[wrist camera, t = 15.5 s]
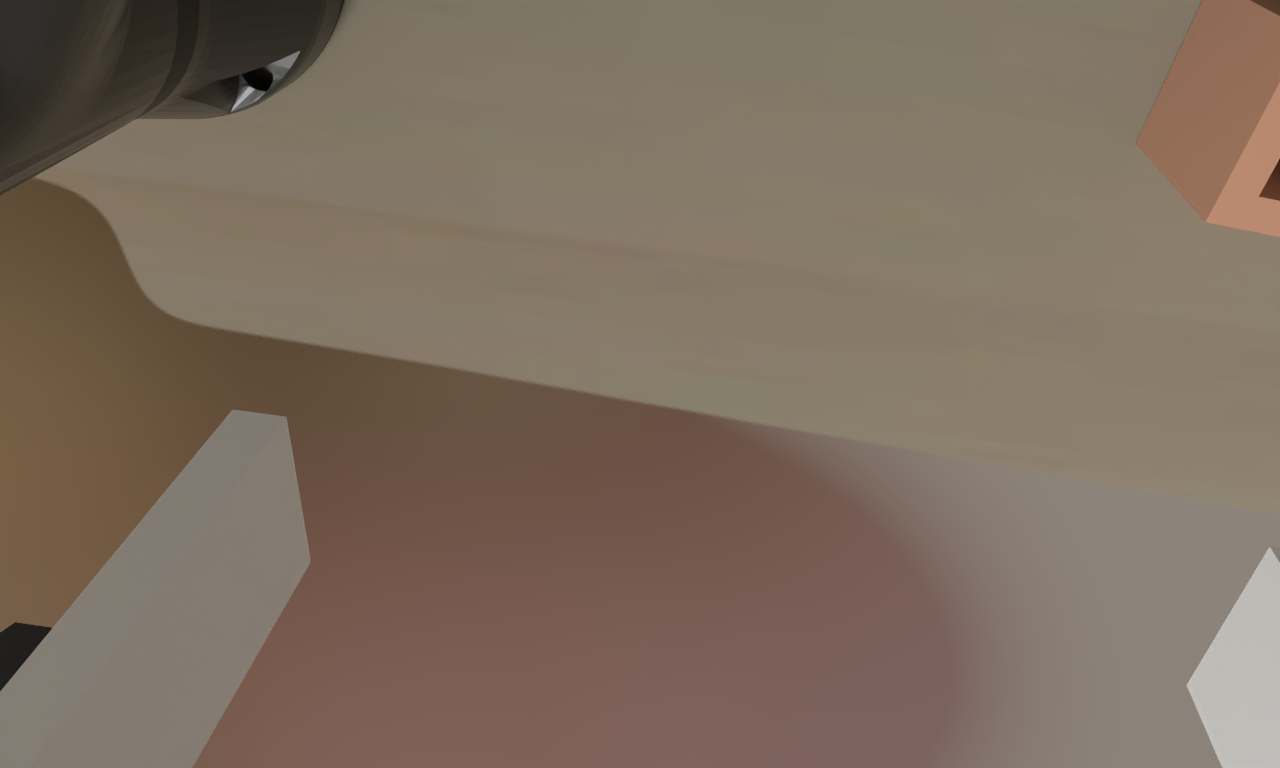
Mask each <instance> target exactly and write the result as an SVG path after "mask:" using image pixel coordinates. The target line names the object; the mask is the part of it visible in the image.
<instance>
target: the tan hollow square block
mask: <svg viewBox="0 0 1280 768" xmlns="http://www.w3.org/2000/svg"><path fill="white" fill-rule="evenodd" d="M1136 145H1137V146H1138V147H1139V148H1140V149H1141V150H1142V151H1143V153H1144V154H1145V155H1146V156H1147V157H1148V158H1149V159H1150V160H1151V162H1152V163H1153V164H1154V165H1155V166H1156V167H1157V168H1158V169H1159V171H1160V172H1161V173H1162V174H1163V175H1164V176H1165V177H1166V178H1167V180H1168V181H1169V182H1170V183H1171V184H1172V185H1173V186H1174V187H1175V189H1176V190H1177V191H1178V192H1179V193H1180V194H1181V195H1182V196H1183V197H1184V199H1185V200H1186V201H1187V202H1188V203H1189V204H1190V205H1191V206H1192V208H1193V209H1194V210H1195V211H1196V212H1197V213H1198V214H1199V215H1200V217H1201V218H1202V219H1203V220H1204V221H1205V222H1207V223H1212V224H1217V225H1222V226H1227V227H1232V228H1237V229H1242V230H1247V231H1252V232H1257V233H1262V234H1267V235H1272V236H1277V237H1280V0H1203V1H1202V3H1201V5H1200V7H1199V9H1198V11H1197V14H1196V16H1195V18H1194V20H1193V22H1192V24H1191V26H1190V29H1189V31H1188V33H1187V35H1186V37H1185V39H1184V42H1183V44H1182V46H1181V48H1180V50H1179V52H1178V54H1177V57H1176V59H1175V61H1174V63H1173V65H1172V67H1171V70H1170V72H1169V74H1168V76H1167V78H1166V80H1165V82H1164V85H1163V87H1162V89H1161V91H1160V93H1159V95H1158V98H1157V100H1156V102H1155V104H1154V106H1153V108H1152V110H1151V113H1150V115H1149V117H1148V119H1147V121H1146V123H1145V126H1144V128H1143V130H1142V132H1141V134H1140V136H1139V138H1138V141H1137V143H1136Z"/></svg>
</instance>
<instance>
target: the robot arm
mask: <svg viewBox="0 0 1280 768" xmlns="http://www.w3.org/2000/svg"><path fill="white" fill-rule="evenodd" d="M341 5H342V0H0V195H2V194H4V193H6V192H7V191H9V190H11V189H13V188H15V187H16V186H18V185H20V184H22V183H23V182H25V181H27V180H29V179H31V178H32V177H34V176H36V175H38V174H39V173H41V172H43V171H45V170H47V169H48V168H50V167H52V166H54V165H55V164H57V163H59V162H61V161H62V160H64V159H66V158H68V157H69V156H71V155H73V154H75V153H77V152H78V151H80V150H82V149H84V148H85V147H87V146H89V145H91V144H92V143H94V142H96V141H98V140H100V139H101V138H103V137H105V136H107V135H108V134H110V133H112V132H114V131H115V130H117V129H119V128H121V127H123V126H125V125H126V124H128V123H130V122H131V121H133V120H135V119H203V118H213V117H220V116H224V115H229V114H232V113H236V112H239V111H242V110H245V109H248V108H250V107H252V106H255V105H257V104H259V103H261V102H262V101H264V100H266V99H268V98H269V97H271V96H272V95H274V94H276V93H277V92H279V91H280V90H282V89H283V88H285V87H287V86H288V85H289V84H291V83H292V82H294V81H295V80H296V79H297V78H299V77H300V76H301V75H302V74H303V73H304V72H305V71H306V70H307V69H308V68H309V67H310V66H311V65H312V64H313V62H314V61H315V60H316V59H317V57H318V56H319V55H320V53H321V52H322V50H323V49H324V47H325V45H326V44H327V42H328V40H329V38H330V36H331V34H332V31H333V29H334V27H335V24H336V22H337V19H338V16H339V13H340V9H341ZM310 562H311V561H310V554H309V548H308V542H307V536H306V530H305V525H304V519H303V513H302V507H301V501H300V495H299V489H298V483H297V477H296V471H295V465H294V459H293V453H292V447H291V442H290V436H289V430H288V424H287V418H286V417H284V416H276V415H269V414H260V413H253V412H245V411H238V410H232V411H231V412H230V414H229V415H228V416H227V417H226V419H225V420H224V421H223V422H222V423H221V424H220V426H219V427H218V428H217V429H216V431H215V432H214V433H213V434H212V435H211V437H210V438H209V439H208V440H207V441H206V443H205V444H204V445H203V446H202V447H201V449H200V450H199V451H198V452H197V454H196V455H195V456H194V457H193V458H192V460H191V461H190V462H189V463H188V465H187V466H186V467H185V468H184V470H183V471H182V472H181V473H180V474H179V475H178V477H177V478H176V479H175V480H174V482H173V483H172V484H171V485H170V486H169V488H168V489H167V490H166V491H165V492H164V494H163V495H162V496H161V497H160V498H159V500H158V501H157V502H156V503H155V504H154V506H153V507H152V508H151V509H150V511H149V512H148V513H147V514H146V515H145V517H144V518H143V519H142V520H141V521H140V523H139V524H138V525H137V526H136V528H135V529H134V530H133V531H132V532H131V534H130V535H129V536H128V537H127V539H126V540H125V541H124V542H123V543H122V545H121V546H120V547H119V548H118V549H117V551H116V552H115V553H114V554H113V556H112V557H111V558H110V559H109V560H108V562H107V563H106V564H105V565H104V566H103V568H102V569H101V570H100V571H99V572H98V574H97V575H96V576H95V577H94V579H93V580H92V581H91V582H90V583H89V585H88V586H87V587H86V588H85V589H84V591H83V592H82V593H81V594H80V595H79V597H78V598H77V599H76V600H75V602H74V603H73V604H72V605H71V606H70V608H69V609H68V610H67V611H66V612H65V614H64V615H63V616H62V617H61V619H60V620H59V621H58V622H57V624H56V625H55V626H54V627H53V628H50V627H43V626H35V625H29V624H22V623H14V624H12V625H11V626H9V627H8V628H7V629H5V630H4V631H2V632H0V768H192V767H193V765H194V764H195V762H196V760H197V758H198V757H199V755H200V753H201V751H202V750H203V748H204V746H205V745H206V743H207V741H208V739H209V738H210V736H211V734H212V732H213V731H214V729H215V727H216V725H217V724H218V722H219V720H220V718H221V717H222V715H223V713H224V711H225V710H226V708H227V706H228V705H229V703H230V701H231V699H232V698H233V696H234V694H235V692H236V691H237V689H238V687H239V685H240V684H241V682H242V680H243V678H244V677H245V675H246V673H247V671H248V670H249V668H250V666H251V665H252V663H253V661H254V659H255V658H256V656H257V654H258V652H259V651H260V649H261V647H262V645H263V644H264V642H265V640H266V639H267V636H268V635H269V633H270V632H271V630H272V628H273V626H274V624H275V623H276V621H277V619H278V618H279V616H280V614H281V612H282V611H283V609H284V607H285V605H286V604H287V602H288V600H289V599H290V597H291V595H292V593H293V591H294V590H295V588H296V586H297V584H298V583H299V581H300V579H301V578H302V576H303V574H304V572H305V571H306V569H307V567H308V566H309V564H310ZM1187 687H1188V690H1189V692H1190V694H1191V697H1192V699H1193V701H1194V703H1195V706H1196V708H1197V710H1198V713H1199V715H1200V717H1201V720H1202V722H1203V724H1204V727H1205V729H1206V731H1207V733H1208V736H1209V738H1210V740H1211V743H1212V745H1213V747H1214V750H1215V752H1216V754H1217V757H1218V759H1219V761H1220V763H1221V766H1222V768H1280V548H1276V547H1269V549H1268V550H1267V552H1266V554H1265V555H1264V557H1263V559H1262V561H1261V562H1260V564H1259V565H1258V567H1257V569H1256V570H1255V572H1254V574H1253V576H1252V577H1251V579H1250V580H1249V582H1248V584H1247V585H1246V587H1245V589H1244V591H1243V592H1242V594H1241V595H1240V597H1239V599H1238V601H1237V602H1236V604H1235V606H1234V607H1233V609H1232V611H1231V612H1230V614H1229V616H1228V617H1227V619H1226V621H1225V622H1224V624H1223V626H1222V627H1221V629H1220V631H1219V632H1218V634H1217V636H1216V637H1215V639H1214V641H1213V642H1212V644H1211V646H1210V647H1209V649H1208V651H1207V652H1206V654H1205V656H1204V657H1203V659H1202V661H1201V662H1200V664H1199V666H1198V667H1197V669H1196V671H1195V672H1194V674H1193V676H1192V677H1191V679H1190V681H1189V682H1188V684H1187Z"/></svg>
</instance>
